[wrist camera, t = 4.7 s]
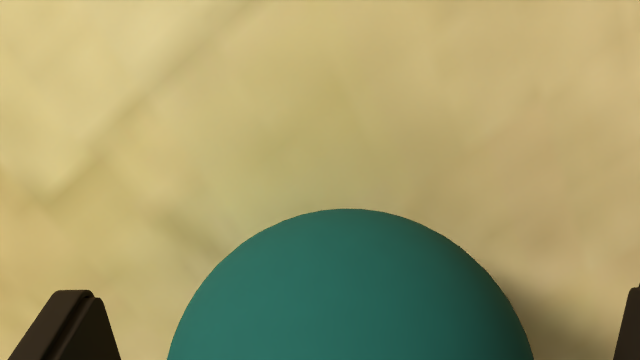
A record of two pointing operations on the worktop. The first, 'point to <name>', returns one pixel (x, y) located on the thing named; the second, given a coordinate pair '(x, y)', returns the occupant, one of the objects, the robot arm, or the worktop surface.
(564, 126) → the worktop surface
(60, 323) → the robot arm
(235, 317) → the ball
